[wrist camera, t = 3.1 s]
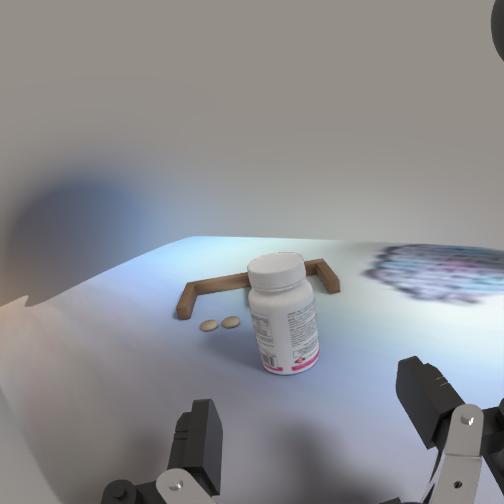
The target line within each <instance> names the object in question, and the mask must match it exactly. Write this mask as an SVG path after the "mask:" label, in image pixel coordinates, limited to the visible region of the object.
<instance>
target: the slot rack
mask: <svg viewBox="0 0 504 504" xmlns="http://www.w3.org/2000/svg"><path fill="white" fill-rule="evenodd" d="M304 265H305V270H306V276H308V275H313V274H318V276H319V278H320V279H321V281H322V282H323V284H324V285H325V287H326V289H327V290H328V292H329V293H330V294H332V293H337V292H340V284H339V279H338V277H337V276H336V275H335V274H334V272H333V271H332V270H331V268H330V267H329V266H328V265H327V263H326V262H325V261H324V260H323V258H322V259H317V260H311V261H306V262H304ZM248 286H251V284H250V281H249V276H248V272H246V273H240V274H235V275H229V276H223V277H218V278H212V279H206V280H200V281H194V282H189V283H187V284H186V286H185V289H184V291H183V294H182V296H181V298H180V301H179V303H178V306H177V308H176V309H177V313H178V316H179V319H180V320H184V319H190V317H191V314H192V310H193V307H194V304H195V301H196V297H197V295H201V294H207V293H213V292H219V291H225V290H231V289H237V288H243V287H248ZM251 289H252V287H251ZM239 323H240V321H239V318H238V317H228V318H225V319H224V320H223V321H222V325H223V327H225V328H232V327H235V326H237V325H238V324H239ZM217 326H218V324H217V321H215V320H208V321H205V322H203V323H202V324H201V325H200V327H201V330H202V331H212V330H214V329H216V328H217Z"/></svg>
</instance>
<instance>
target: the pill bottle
mask: <svg viewBox="0 0 504 504" xmlns="http://www.w3.org/2000/svg"><path fill="white" fill-rule="evenodd" d="M247 270H248V276H249V281H250V284H251V287H252V289H251V291H250V292H249V296H248V300H249V306H250V311H251V316H252V321H253V325H254V330H255V335H256V339H257V344H258V349H259V353H260V358H261V361H262V364H263V366H264V367H265V368H266V369H267V370H268V371H270V372H272V373H275V374H281V375H291V374H297V373H300V372H303V371H305V370H307V369H309V368H310V367H312V366H313V365H314V364H315V362H316V361H317V359H318V357H319V340H318V329H317V319H316V310H315V302H314V294H313V288H312V285H311V283H310V282H309V281H308V280H307V279H305V278H306V270H305V265H304V259H303V257H302V256H301V255H300V254H297V253H291V252H282V253H274V254H269V255H265V256H262V257H259V258H257V259H255V260H253V261H251V262H250V263H249V264H248V266H247Z"/></svg>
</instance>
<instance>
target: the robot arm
mask: <svg viewBox="0 0 504 504" xmlns="http://www.w3.org/2000/svg"><path fill="white" fill-rule="evenodd" d="M491 31H492V38H493V42H494V45H495V47H496V50H497V52H498V54H499V56H500V57H501V58H502V60H503V61H504V0H496V1H495V3H494V6H493V10H492V15H491ZM396 393H397V397H398V399H399V401H400V402H401V404H402V406H403V407H404V409H405V411H406V413H407V414H408V416H409V418H410V420H411V421H412V423H413V425H414V427H415V428H416V430H417V432H418V434H419V435H420V437H421V439H422V441H423V443H424V444H425V446H426V448H427V450H428V449H430V448H433V447H435V446H436V447H437V449H438V452H437V455H436V458H435V462H434V465H433V469H432V472H431V475H430V478H429V481H428V484H427V487H426V490H425V492H424V494H423V497H422V499H421V501H420V503H418V502H402V503H401V501H400V499H399V497H398V498H395V499H392V500H389V501H386V502H383V503H380V504H473V503H474V499H475V495H476V491H477V486H478V481H479V476H480V471H481V465H482V456H483V458H484V459H485V461H486V463H487V465H488V467H489V468H490V470H491V472H492V474H493V476H494V478H495V480H496V482H497V483H498V485H499V487H500V489H501V491H502V493H503V495H504V398H503V399H502V400H501V402H500V404H499V406H498V407H493V408H489V409H483V410H481V409H480V408H479V407H478V406H476V405H473V404H465V402H464V401H463V400H462V399H461V397H460V396H459V395H458V393H457V392H456V391H455V390H454V388H453V387H452V386H451V385H450V383H448V381H447V380H446V378H445V377H443V375H442V374H441V372H440V371H439V370H438V369H437V368H436V367H434V366H432V365H431V364H429V363H427V364H424V365H423V363H422V362H421V361H420V360H419V358H418V357H417V356H413V357H410V358H406V359H403V360H400V361H399V363H398V371H397V380H396ZM222 439H223V431H222V424H221V421H220V418H219V416H218V413H217V410H216V408H215V405H214V402H213V400H212V399H202V400H194V401H193V405H192V411H191V412H187V413H183V414H182V416H181V417H180V418H179V420H178V421H177V424H176V429H175V434H174V441H173V444H172V449H171V454H170V459H169V464H168V468H167V471H165V472H163V473H162V474H161V475H160V476H159V477H158V479H157V480H156V481H154V482H150V483H146V484H141V485H136V486H134V485H133V484H132V483H131V482H129V481H127V480H116V481H113V482H111V483H110V484H109V485H107V487H106V488H105V490H104V493H103V497H102V501H101V504H216V502H215V501H214V500H213V499H212V496H214V495H220V482H221V459H222Z"/></svg>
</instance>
